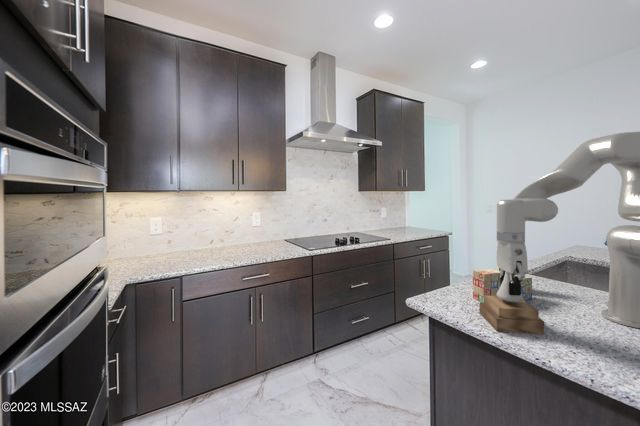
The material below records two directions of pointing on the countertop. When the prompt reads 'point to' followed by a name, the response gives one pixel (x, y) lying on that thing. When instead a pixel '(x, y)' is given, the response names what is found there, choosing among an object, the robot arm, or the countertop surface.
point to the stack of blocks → (495, 284)
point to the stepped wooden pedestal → (511, 316)
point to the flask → (504, 290)
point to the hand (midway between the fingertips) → (510, 291)
